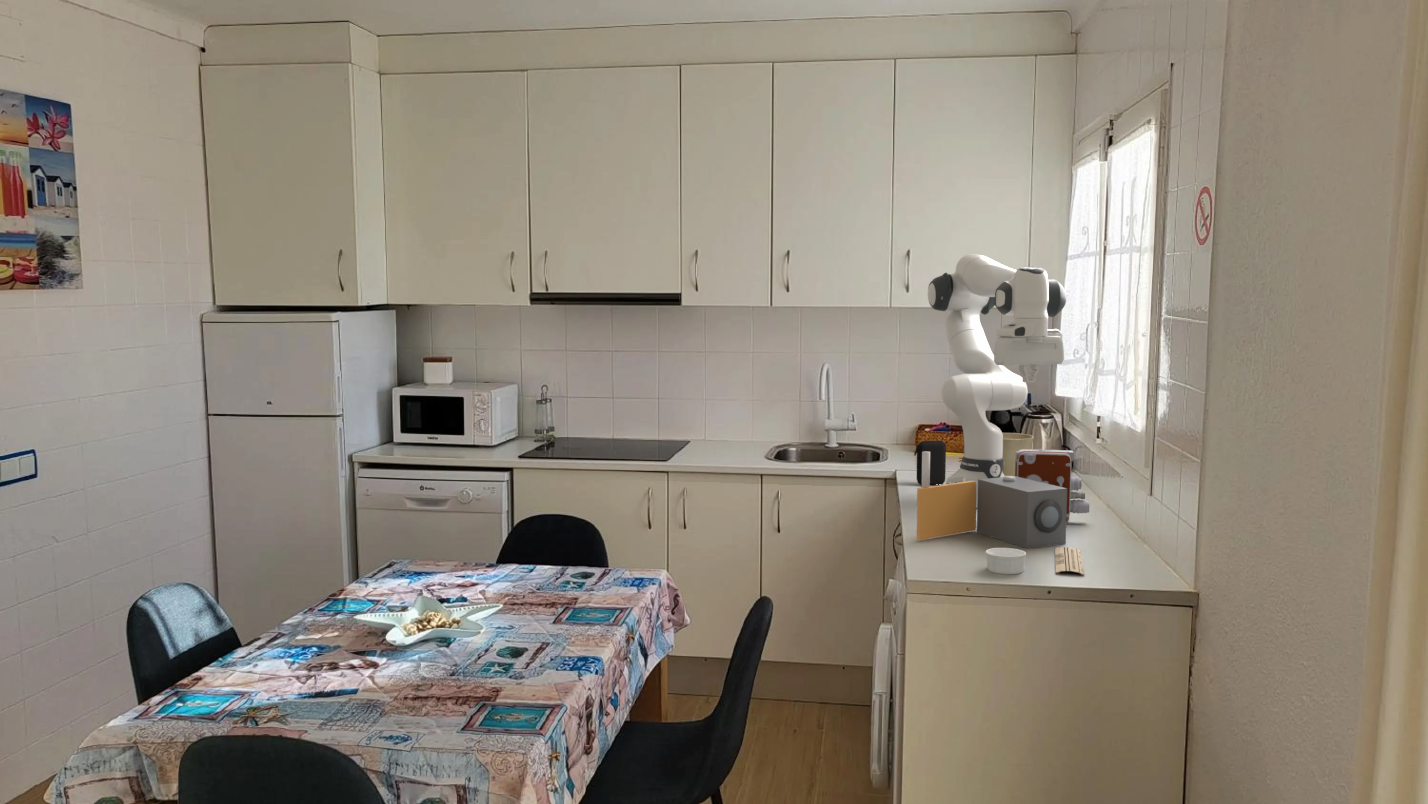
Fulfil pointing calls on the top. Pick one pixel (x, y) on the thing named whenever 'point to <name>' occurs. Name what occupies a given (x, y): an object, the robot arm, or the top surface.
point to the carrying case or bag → (932, 461)
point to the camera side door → (944, 506)
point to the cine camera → (1052, 474)
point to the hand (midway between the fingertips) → (1028, 382)
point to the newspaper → (1068, 560)
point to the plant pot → (1014, 449)
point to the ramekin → (1005, 560)
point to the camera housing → (1022, 511)
